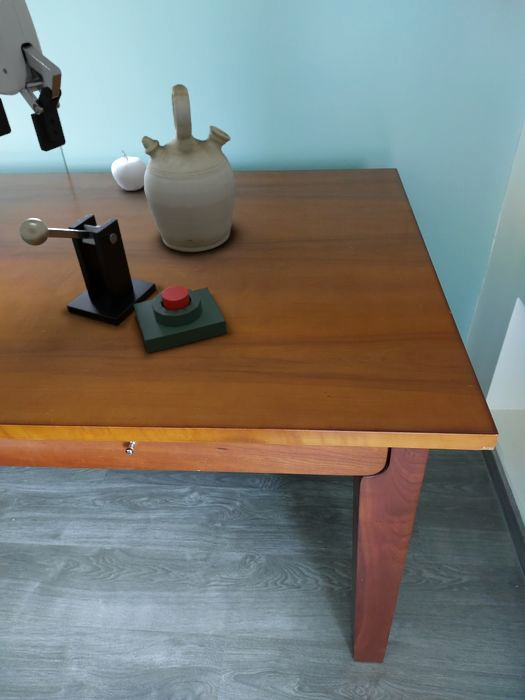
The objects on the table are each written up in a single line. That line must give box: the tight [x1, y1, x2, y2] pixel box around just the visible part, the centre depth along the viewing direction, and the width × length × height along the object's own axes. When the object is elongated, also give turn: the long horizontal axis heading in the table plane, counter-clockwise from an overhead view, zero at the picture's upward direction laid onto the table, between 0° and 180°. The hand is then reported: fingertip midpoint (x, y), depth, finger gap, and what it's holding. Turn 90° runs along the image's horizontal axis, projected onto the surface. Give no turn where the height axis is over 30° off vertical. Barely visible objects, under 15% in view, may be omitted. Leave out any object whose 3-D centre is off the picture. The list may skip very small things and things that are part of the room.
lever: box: [19, 217, 101, 246], centre depth 68 cm, size 14×3×3 cm, turn 155°
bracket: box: [66, 213, 157, 326], centre depth 76 cm, size 10×9×13 cm
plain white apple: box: [111, 149, 147, 192], centre depth 110 cm, size 7×7×8 cm
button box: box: [134, 287, 227, 354], centre depth 73 cm, size 11×9×4 cm
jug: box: [141, 83, 236, 253], centre depth 87 cm, size 15×16×25 cm
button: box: [161, 285, 190, 311], centre depth 72 cm, size 4×4×2 cm
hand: (26, 141), depth 62 cm, fingers open, 9 cm apart
